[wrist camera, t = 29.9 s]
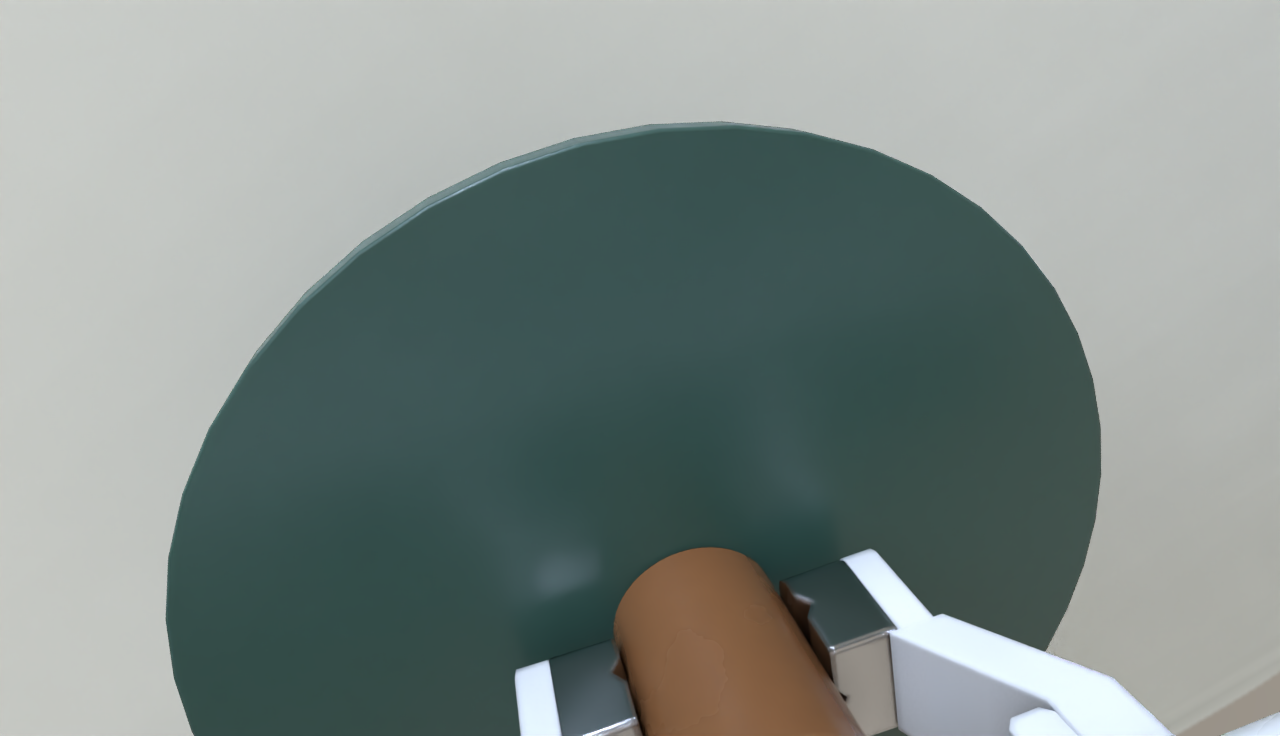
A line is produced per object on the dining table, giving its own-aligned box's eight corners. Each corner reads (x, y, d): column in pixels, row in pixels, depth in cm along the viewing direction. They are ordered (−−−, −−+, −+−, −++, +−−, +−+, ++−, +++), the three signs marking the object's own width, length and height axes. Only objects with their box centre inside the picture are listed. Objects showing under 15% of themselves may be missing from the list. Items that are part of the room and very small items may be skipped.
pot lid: (1061, 7, 11) (1472, -24, 6) (1044, 717, 17) (1250, 945, 13) (-30, 284, 9) (-473, 500, 5) (394, 967, 15) (375, 1335, 11)
